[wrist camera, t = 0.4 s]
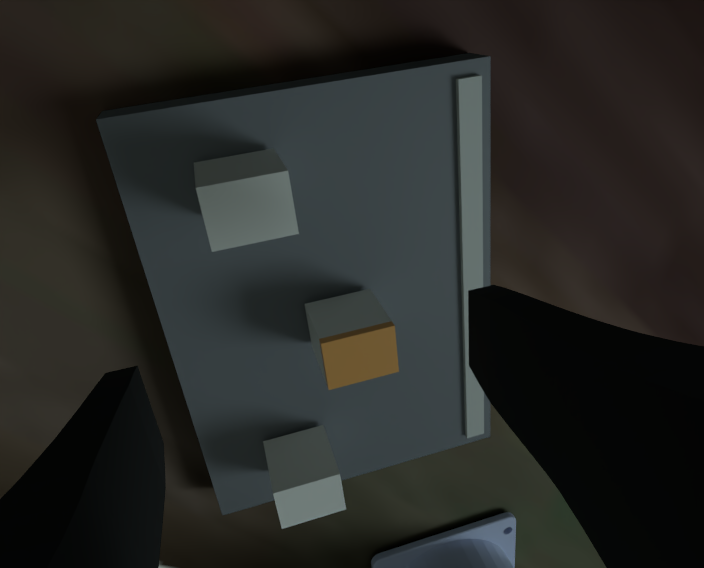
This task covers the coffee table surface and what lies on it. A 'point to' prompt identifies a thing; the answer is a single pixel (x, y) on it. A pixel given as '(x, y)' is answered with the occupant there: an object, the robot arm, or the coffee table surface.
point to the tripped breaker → (352, 338)
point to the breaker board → (320, 259)
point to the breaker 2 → (304, 476)
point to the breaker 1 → (245, 199)
